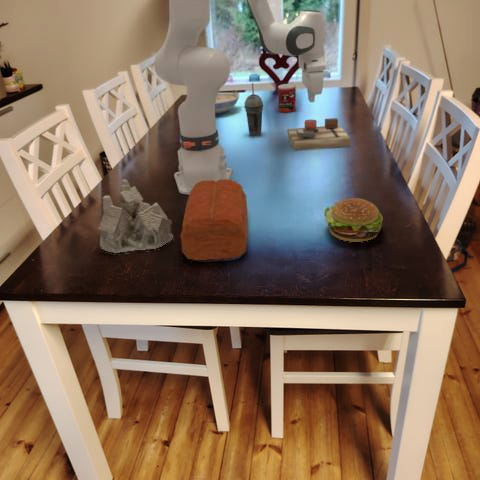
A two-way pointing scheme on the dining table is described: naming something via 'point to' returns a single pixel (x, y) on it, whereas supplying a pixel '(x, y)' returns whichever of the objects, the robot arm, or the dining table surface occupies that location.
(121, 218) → the ceramic cottage
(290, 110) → the canned food
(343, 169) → the dining table surface
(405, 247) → the dining table surface
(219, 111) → the ramen bowl
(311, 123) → the brick-red push button
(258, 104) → the beverage cup
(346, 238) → the food
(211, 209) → the bread
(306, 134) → the charcoal rocker switch
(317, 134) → the control board
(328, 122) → the walnut slider knob
